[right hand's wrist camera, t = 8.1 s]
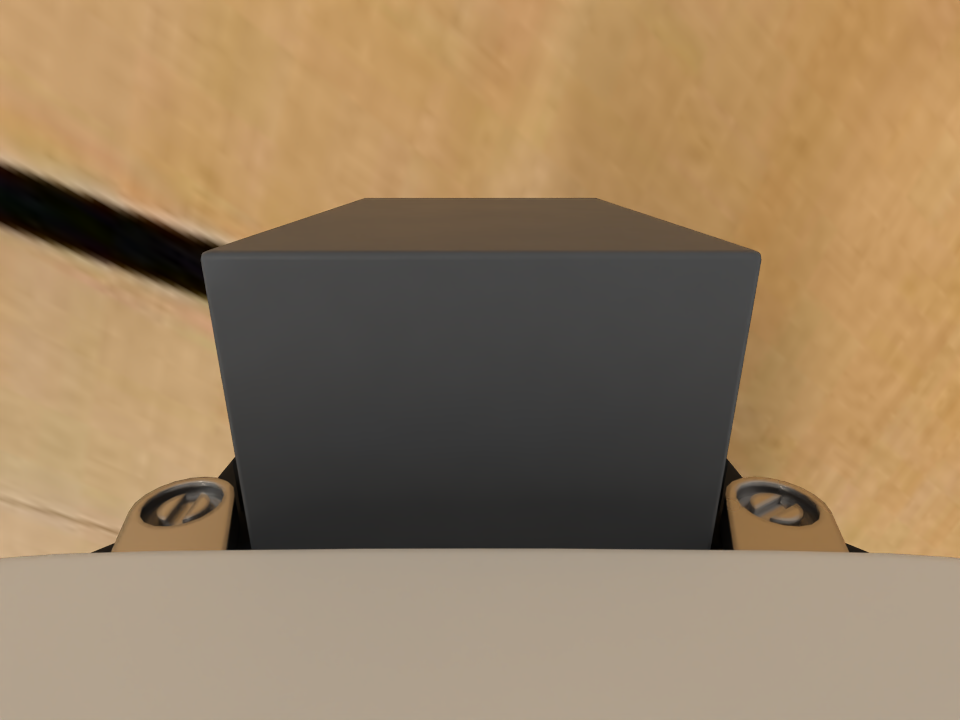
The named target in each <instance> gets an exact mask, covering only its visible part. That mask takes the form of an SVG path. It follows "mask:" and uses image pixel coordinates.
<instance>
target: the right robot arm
mask: <svg viewBox="0 0 960 720" xmlns="http://www.w3.org/2000/svg"><path fill="white" fill-rule="evenodd" d="M0 720H960V558H952V557H938V556H922V555H906V554H889V553H869V552H866V551H864V550H861V549H859V548H856V547H854V546H851V545H849V544H846V543H845V542H844V539H843V537H842V535H841V533H840V530H839V528H838V526H837V524H836V521H835V519H834V517H833V515H832V512H831V511H830V509H829V508H828V507H827V505H826V504H825V503H824V502H823V501H822V500H820V499H819V498H818V497H817V496H815V495H814V494H812V493H810V492H808V491H807V490H805V489H803V488H801V487H799V486H796V485H793V484H790V483H788V482H785V481H780V480H776V479H771V478H763V477H748V478H742V477H741V475H740V474H739V473H738V472H737V470H736V469H735V468H734V467H733V466H732V464H731V463H730V462H729V461H728V459H727V458H726V463H725V469H724V475H723V480H722V486H721V492H720V497H719V503H718V509H717V514H716V520H715V526H714V531H713V537H712V543H711V548H710V550H653V549H297V550H252V549H251V543H250V537H249V532H248V526H247V520H246V515H245V509H244V503H243V497H242V492H241V486H240V480H239V475H238V469H237V463H236V457H235V458H234V459H233V460H232V461H231V463H230V464H229V465H228V466H227V467H226V469H225V470H224V471H223V472H222V473H221V475H220V476H219V477H218V478H212V477H197V478H189V479H184V480H180V481H175V482H172V483H170V484H167V485H164V486H161V487H159V488H157V489H155V490H153V491H152V492H150V493H148V494H146V495H145V496H143V497H142V498H141V499H140V500H138V501H137V502H136V503H135V504H134V505H133V507H132V508H131V509H130V511H129V512H128V515H127V517H126V519H125V521H124V524H123V526H122V528H121V530H120V533H119V535H118V537H117V539H116V542H115V543H114V544H111V545H109V546H107V547H104V548H102V549H99V550H97V551H94V552H92V553H76V554H52V555H38V556H23V557H9V558H0Z"/></svg>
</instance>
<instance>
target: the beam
mask: <svg viewBox="0 0 960 720" xmlns="http://www.w3.org/2000/svg"><path fill="white" fill-rule="evenodd" d="M201 263H202V269H203V275H204V281H205V286H206V292H207V298H208V303H209V309H210V315H211V321H212V326H213V332H214V338H215V343H216V349H217V355H218V360H219V366H220V372H221V378H222V383H223V389H224V395H225V400H226V406H227V412H228V418H229V423H230V429H231V435H232V440H233V446H234V452H235V457H236V463H237V469H238V475H239V480H240V486H241V492H242V497H243V503H244V509H245V515H246V520H247V526H248V532H249V537H250V543H251V549H252V550H297V549H653V550H710V548H711V543H712V537H713V531H714V526H715V520H716V514H717V509H718V503H719V497H720V492H721V486H722V480H723V475H724V469H725V463H726V458H727V452H728V446H729V440H730V435H731V429H732V423H733V418H734V412H735V406H736V401H737V395H738V389H739V384H740V378H741V372H742V367H743V361H744V355H745V350H746V344H747V338H748V332H749V327H750V321H751V315H752V310H753V304H754V298H755V293H756V287H757V281H758V276H759V270H760V264H761V255H760V253H759V252H757V251H754V250H752V249H749V248H746V247H743V246H740V245H736V244H733V243H730V242H727V241H724V240H721V239H718V238H715V237H712V236H709V235H706V234H703V233H700V232H697V231H694V230H691V229H688V228H685V227H682V226H679V225H676V224H673V223H670V222H667V221H664V220H661V219H658V218H655V217H652V216H649V215H646V214H643V213H639V212H636V211H633V210H630V209H627V208H624V207H621V206H618V205H615V204H612V203H609V202H606V201H603V200H600V199H597V198H364V199H361V200H358V201H355V202H352V203H349V204H346V205H343V206H340V207H337V208H334V209H331V210H328V211H325V212H322V213H319V214H316V215H313V216H310V217H307V218H304V219H301V220H298V221H295V222H292V223H289V224H286V225H283V226H280V227H277V228H274V229H271V230H268V231H265V232H262V233H259V234H256V235H253V236H250V237H247V238H244V239H241V240H238V241H235V242H232V243H229V244H226V245H223V246H220V247H217V248H214V249H211V250H208V251H206V252H204V253H202V256H201Z"/></svg>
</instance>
